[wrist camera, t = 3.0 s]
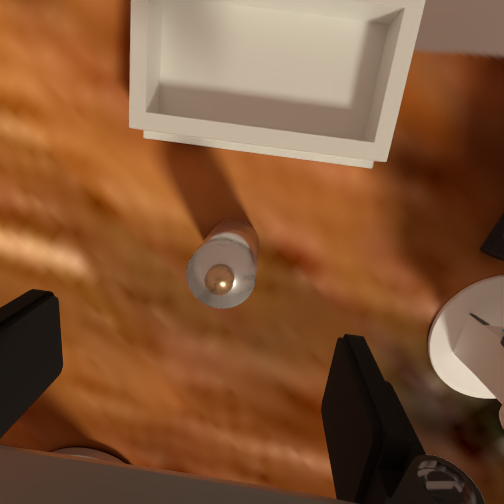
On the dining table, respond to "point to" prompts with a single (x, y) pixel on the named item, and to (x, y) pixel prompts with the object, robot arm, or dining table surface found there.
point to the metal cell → (225, 265)
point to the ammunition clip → (495, 241)
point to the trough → (273, 74)
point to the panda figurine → (472, 341)
